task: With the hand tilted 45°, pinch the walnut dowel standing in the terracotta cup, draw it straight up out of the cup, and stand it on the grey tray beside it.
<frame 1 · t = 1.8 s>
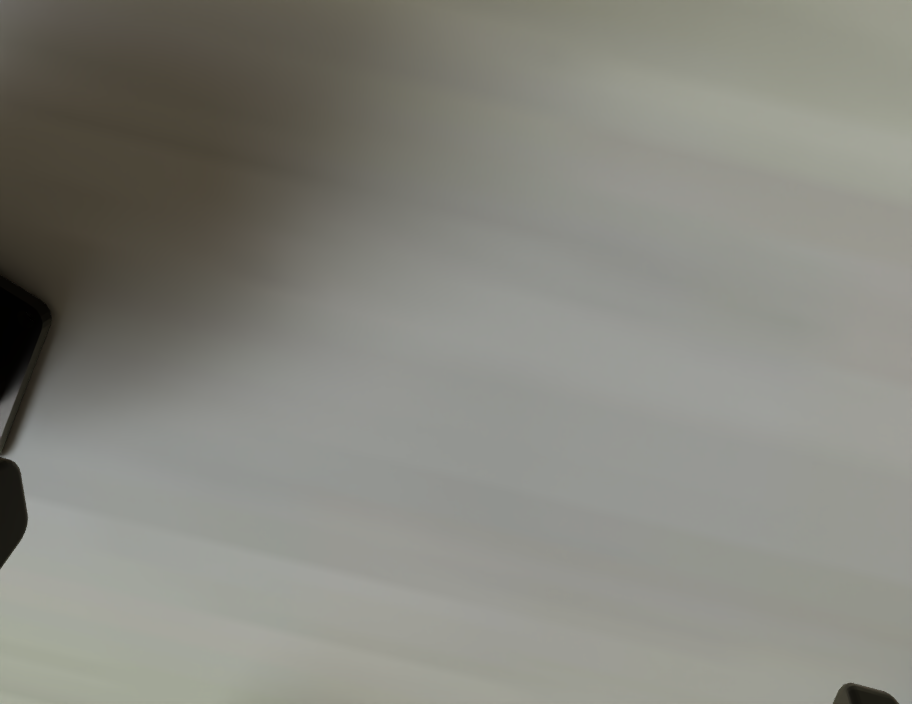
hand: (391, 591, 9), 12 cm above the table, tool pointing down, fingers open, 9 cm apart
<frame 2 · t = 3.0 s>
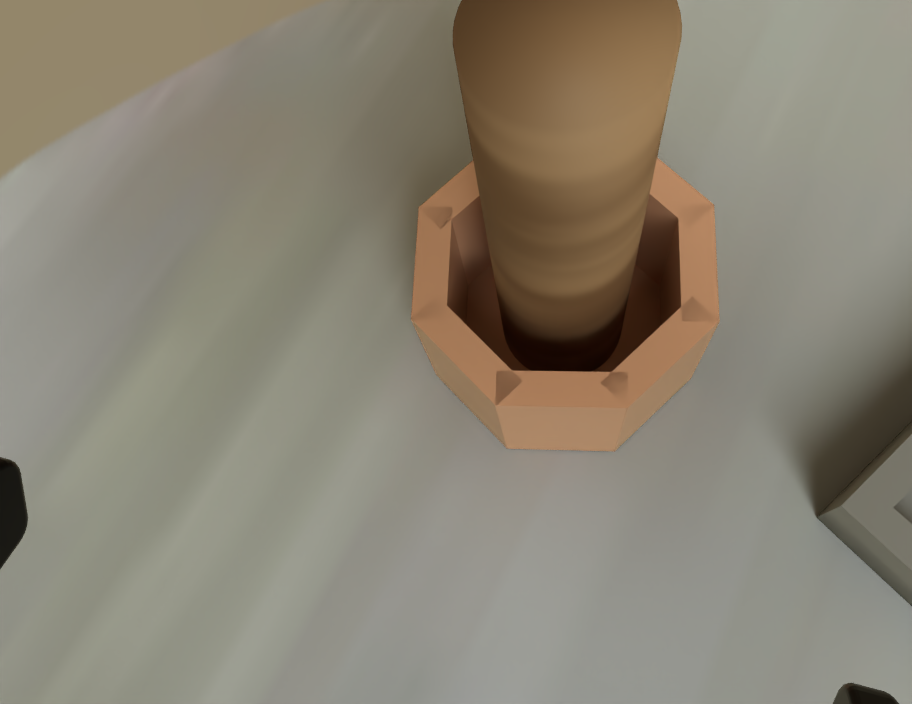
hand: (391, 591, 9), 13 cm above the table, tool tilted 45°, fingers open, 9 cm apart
terracotta cup: (561, 328, 24), on the table
walnut dowel: (562, 322, 24), resting on terracotta cup
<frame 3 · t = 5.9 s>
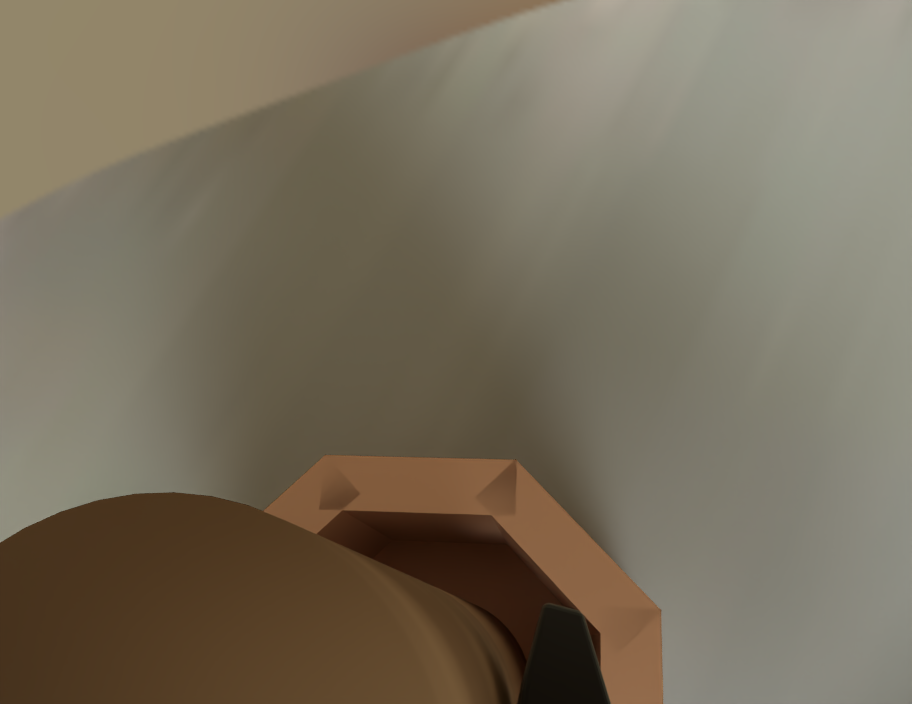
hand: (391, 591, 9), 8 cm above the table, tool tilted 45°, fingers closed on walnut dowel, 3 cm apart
terracotta cup: (445, 690, 16), on the table
walnut dowel: (441, 691, 15), point 1 cm above the table, touching gripper, terracotta cup
when the fingers open (9 cm above the table, at t = 10.0 s): walnut dowel drops 1 cm, resting on grey tray.
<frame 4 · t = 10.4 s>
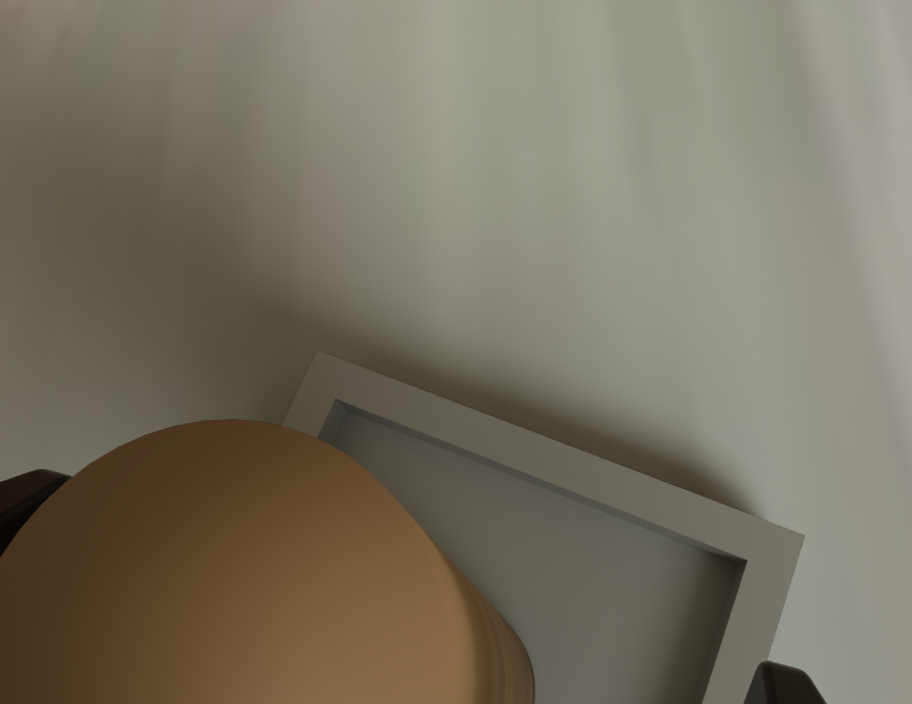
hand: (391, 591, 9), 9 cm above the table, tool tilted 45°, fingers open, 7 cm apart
grey tray: (457, 686, 18), on the table
walnut dowel: (450, 688, 16), point 1 cm above the table, touching grey tray
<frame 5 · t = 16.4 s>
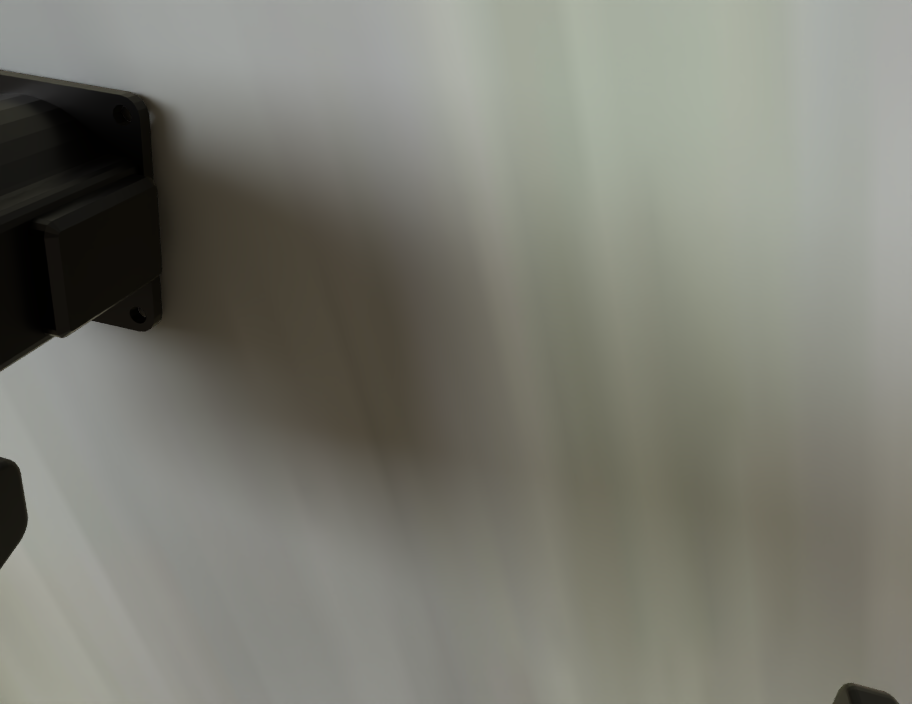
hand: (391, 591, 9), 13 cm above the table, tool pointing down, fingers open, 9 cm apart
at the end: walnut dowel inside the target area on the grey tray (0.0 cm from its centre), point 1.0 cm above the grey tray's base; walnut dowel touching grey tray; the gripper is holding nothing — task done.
